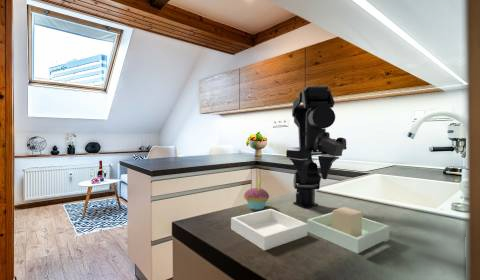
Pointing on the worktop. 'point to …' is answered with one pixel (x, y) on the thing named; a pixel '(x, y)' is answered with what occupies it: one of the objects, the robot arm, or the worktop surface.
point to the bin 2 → (369, 237)
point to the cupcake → (256, 197)
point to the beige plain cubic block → (347, 221)
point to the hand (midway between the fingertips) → (314, 180)
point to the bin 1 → (269, 228)
